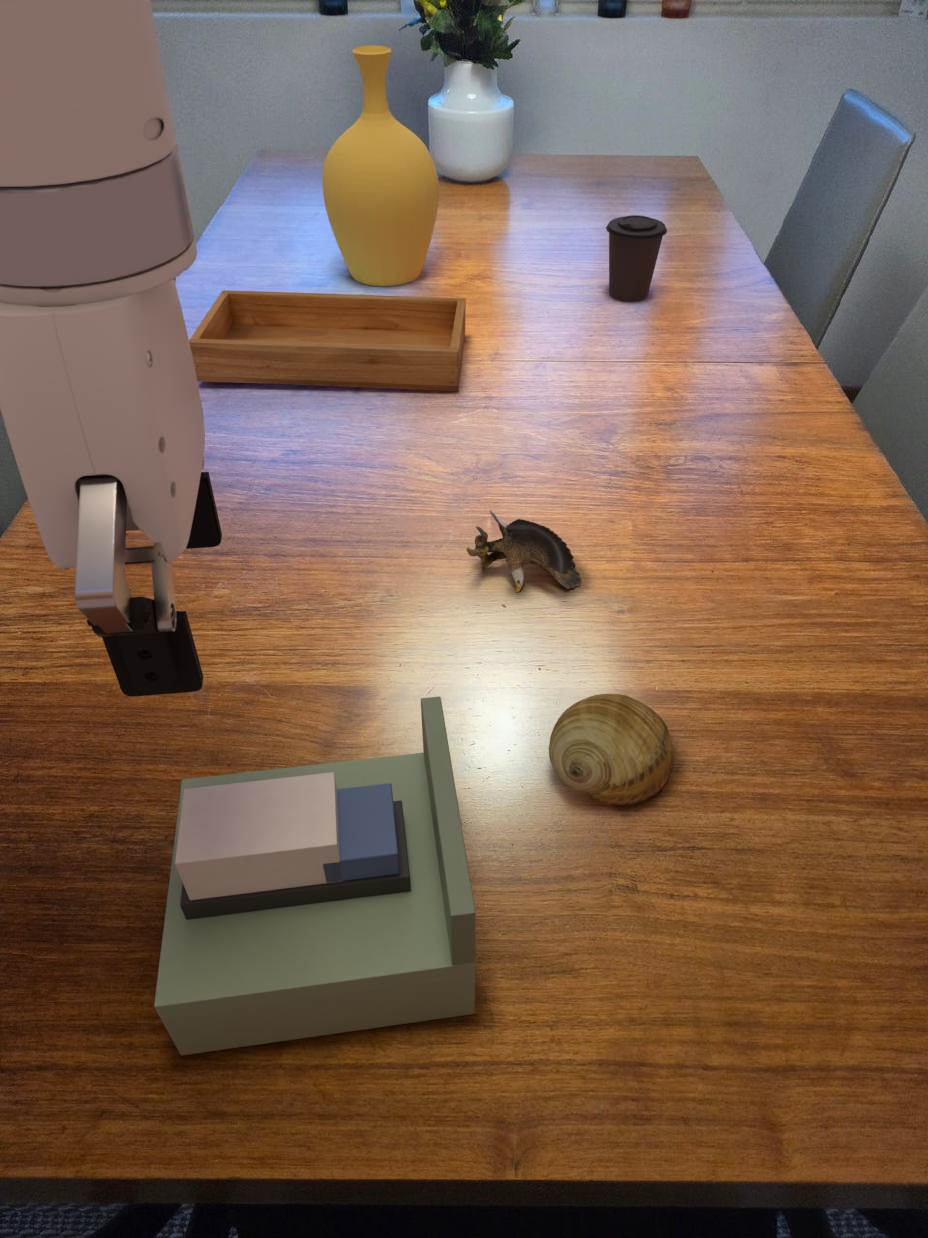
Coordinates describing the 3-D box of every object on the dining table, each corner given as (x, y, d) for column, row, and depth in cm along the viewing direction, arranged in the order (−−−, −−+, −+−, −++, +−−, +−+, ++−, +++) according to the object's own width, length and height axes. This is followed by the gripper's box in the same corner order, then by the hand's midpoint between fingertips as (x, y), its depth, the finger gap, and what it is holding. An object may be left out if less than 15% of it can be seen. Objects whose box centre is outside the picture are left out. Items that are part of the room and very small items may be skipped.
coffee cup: (597, 303, 120) (604, 228, 113) (601, 281, 126) (608, 208, 119) (657, 307, 119) (668, 231, 112) (658, 285, 125) (668, 211, 118)
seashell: (622, 763, 67) (574, 674, 65) (705, 747, 62) (656, 651, 61) (570, 843, 59) (515, 745, 58) (661, 831, 55) (603, 724, 53)
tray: (465, 337, 112) (465, 293, 109) (458, 394, 101) (458, 347, 97) (230, 332, 114) (221, 289, 110) (197, 388, 103) (186, 341, 99)
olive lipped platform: (180, 1056, 47) (126, 958, 40) (202, 835, 57) (162, 725, 50) (474, 1014, 49) (475, 913, 41) (444, 806, 59) (440, 695, 51)
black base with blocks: (185, 920, 46) (163, 868, 43) (194, 840, 50) (174, 786, 47) (411, 891, 48) (406, 839, 44) (403, 815, 51) (398, 761, 48)
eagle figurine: (468, 598, 73) (575, 595, 71) (463, 512, 72) (572, 506, 70) (488, 587, 80) (587, 584, 78) (484, 509, 79) (583, 504, 77)
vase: (312, 286, 125) (284, 57, 106) (357, 247, 136) (339, 34, 117) (418, 300, 121) (408, 65, 102) (455, 259, 132) (453, 40, 114)
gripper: (14, 143, 34) (123, 505, 46) (-163, 337, 21) (50, 770, 33) (211, 139, 35) (269, 497, 46) (152, 325, 22) (252, 753, 34)
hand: (178, 610), depth 40 cm, fingers open, 9 cm apart
